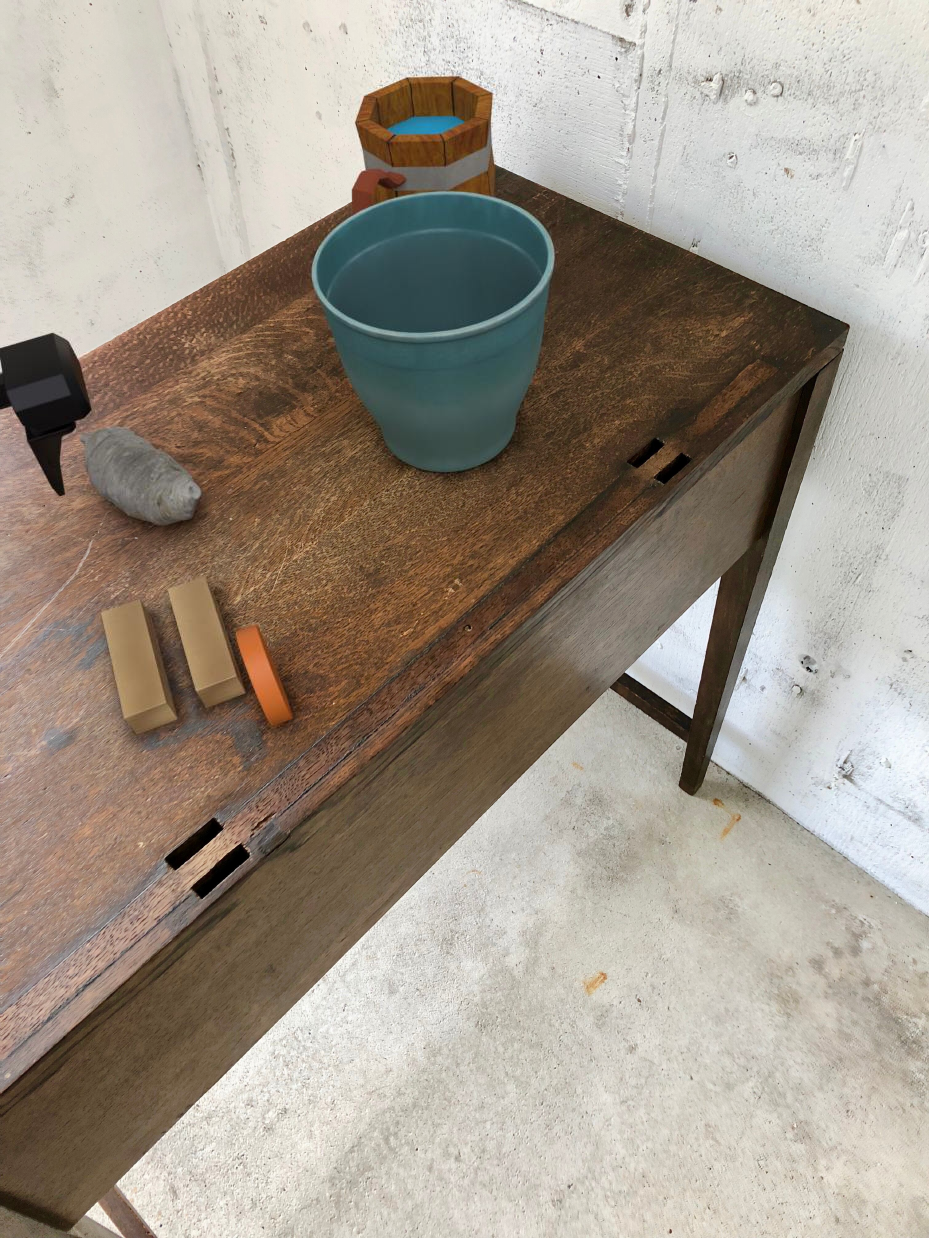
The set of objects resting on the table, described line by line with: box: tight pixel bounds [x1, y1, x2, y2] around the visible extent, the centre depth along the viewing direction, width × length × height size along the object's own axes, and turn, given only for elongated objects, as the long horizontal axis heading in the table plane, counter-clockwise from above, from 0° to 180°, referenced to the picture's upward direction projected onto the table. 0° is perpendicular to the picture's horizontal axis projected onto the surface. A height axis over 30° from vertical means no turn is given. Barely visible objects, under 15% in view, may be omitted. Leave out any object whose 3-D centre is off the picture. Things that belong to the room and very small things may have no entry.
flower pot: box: [311, 191, 556, 473], centre depth 72 cm, size 18×18×17 cm
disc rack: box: [100, 575, 247, 736], centre depth 65 cm, size 8×10×2 cm
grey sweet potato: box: [78, 425, 203, 526], centre depth 73 cm, size 6×14×8 cm, turn 50°
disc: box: [235, 624, 294, 727], centre depth 61 cm, size 2×7×7 cm, turn 23°
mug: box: [351, 75, 496, 216], centre depth 87 cm, size 20×14×15 cm
